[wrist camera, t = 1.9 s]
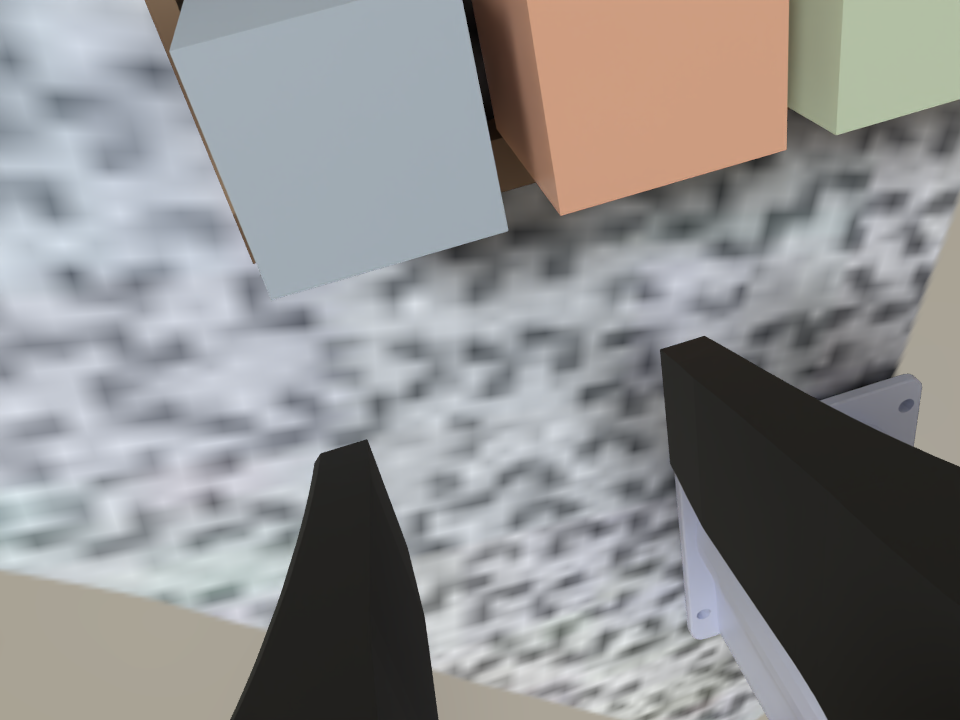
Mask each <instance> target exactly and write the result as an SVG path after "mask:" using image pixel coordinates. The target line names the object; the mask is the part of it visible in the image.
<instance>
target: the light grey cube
mask: <svg viewBox="0 0 960 720" xmlns="http://www.w3.org/2000/svg"><path fill="white" fill-rule="evenodd" d="M169 52H170V54H171V57H172V59H173V62H174V64H175V67H176V69H177V71H178V74H179V76H180V79H181V81H182V84H183V86H184V89H185V91H186V93H187V96H188V98H189V101H190V103H191V106H192V108H193V110H194V113H195V115H196V118H197V120H198V123H199V125H200V128H201V130H202V132H203V135H204V137H205V140H206V142H207V145H208V147H209V150H210V152H211V154H212V157H213V159H214V162H215V164H216V167H217V169H218V171H219V174H220V176H221V179H222V181H223V184H224V186H225V189H226V191H227V193H228V196H229V198H230V201H231V203H232V206H233V208H234V211H235V213H236V215H237V218H238V220H239V223H240V225H241V228H242V230H243V232H244V235H245V237H246V240H247V242H248V245H249V247H250V250H251V252H252V254H253V257H254V259H255V262H256V264H257V267H258V269H259V272H260V274H261V276H262V279H263V281H264V284H265V286H266V289H267V291H268V293H269V296H270V298H271V300H274V299H278V298H281V297H285V296H288V295H291V294H295V293H298V292H302V291H305V290H308V289H312V288H315V287H319V286H322V285H326V284H329V283H332V282H336V281H339V280H343V279H346V278H350V277H353V276H356V275H360V274H363V273H367V272H370V271H374V270H377V269H380V268H384V267H387V266H391V265H394V264H397V263H401V262H404V261H408V260H411V259H415V258H418V257H421V256H425V255H428V254H432V253H435V252H439V251H442V250H445V249H449V248H452V247H456V246H459V245H463V244H466V243H469V242H473V241H476V240H480V239H483V238H487V237H490V236H493V235H497V234H500V233H504V232H507V231H508V226H507V221H506V216H505V211H504V206H503V201H502V196H501V191H500V186H499V181H498V176H497V171H496V166H495V161H494V156H493V151H492V146H491V141H490V136H489V131H488V126H487V121H486V116H485V111H484V106H483V101H482V96H481V91H480V86H479V81H478V76H477V71H476V66H475V61H474V56H473V51H472V46H471V41H470V36H469V31H468V26H467V21H466V16H465V11H464V6H463V1H462V0H184V2H183V5H182V9H181V12H180V16H179V19H178V22H177V26H176V29H175V33H174V36H173V40H172V43H171V47H170V50H169Z"/></svg>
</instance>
